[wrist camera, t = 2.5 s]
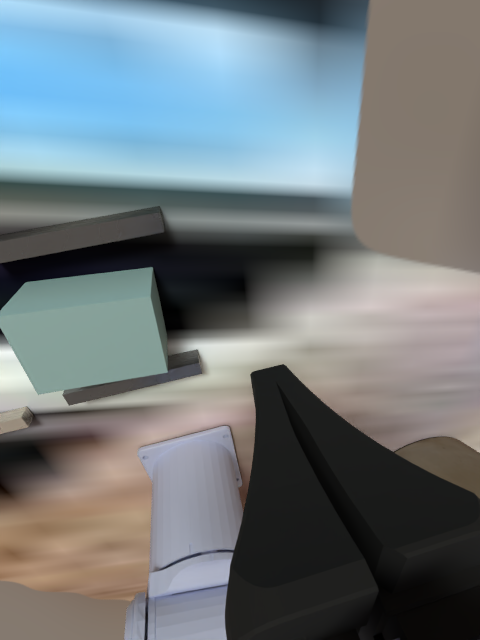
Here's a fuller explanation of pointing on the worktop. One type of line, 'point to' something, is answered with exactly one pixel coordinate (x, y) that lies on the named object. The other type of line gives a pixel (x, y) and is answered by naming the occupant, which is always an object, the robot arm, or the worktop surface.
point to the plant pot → (446, 461)
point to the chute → (79, 237)
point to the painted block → (87, 329)
